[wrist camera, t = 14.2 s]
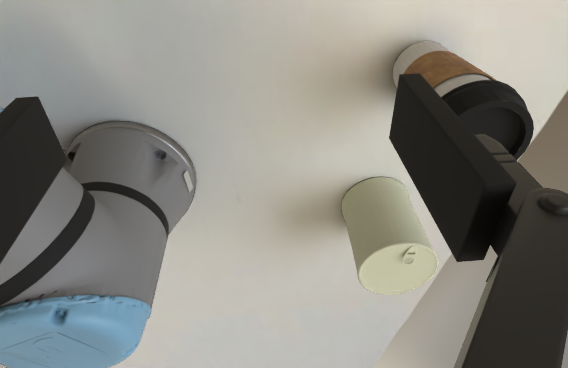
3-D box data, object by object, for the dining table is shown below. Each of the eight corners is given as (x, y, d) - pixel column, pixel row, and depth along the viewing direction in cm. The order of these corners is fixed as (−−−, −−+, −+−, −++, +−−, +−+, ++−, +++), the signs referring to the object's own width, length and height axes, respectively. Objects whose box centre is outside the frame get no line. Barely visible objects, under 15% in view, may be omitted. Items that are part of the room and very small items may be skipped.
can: (420, 182, 51) (456, 252, 42) (392, 231, 56) (418, 302, 47) (354, 171, 49) (376, 241, 40) (332, 222, 55) (347, 294, 45)
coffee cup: (390, 26, 38) (446, 94, 26) (472, 29, 39) (564, 97, 27) (373, 103, 43) (414, 189, 32) (446, 105, 44) (513, 190, 32)
